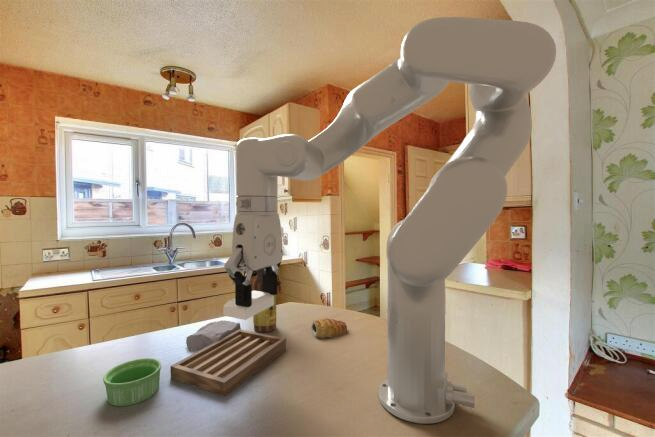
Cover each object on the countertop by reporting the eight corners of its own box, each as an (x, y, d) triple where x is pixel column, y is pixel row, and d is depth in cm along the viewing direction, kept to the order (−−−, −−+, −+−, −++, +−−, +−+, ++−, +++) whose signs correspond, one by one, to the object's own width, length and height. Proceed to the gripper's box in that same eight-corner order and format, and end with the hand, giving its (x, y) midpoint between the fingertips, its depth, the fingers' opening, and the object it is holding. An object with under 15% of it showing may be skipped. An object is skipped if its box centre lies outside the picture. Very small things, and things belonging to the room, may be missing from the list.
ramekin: (126, 379, 62) (125, 357, 62) (171, 379, 62) (170, 357, 61) (91, 409, 53) (89, 383, 53) (143, 409, 53) (142, 384, 52)
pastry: (341, 326, 88) (341, 312, 88) (351, 335, 82) (351, 321, 82) (309, 330, 85) (309, 316, 85) (316, 341, 79) (316, 326, 79)
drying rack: (286, 349, 74) (286, 338, 74) (224, 396, 56) (224, 382, 56) (239, 338, 80) (239, 329, 80) (170, 378, 62) (170, 366, 62)
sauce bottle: (274, 333, 83) (272, 259, 82) (250, 333, 83) (249, 259, 82) (278, 324, 89) (277, 255, 89) (256, 324, 90) (255, 255, 89)
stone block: (183, 357, 74) (219, 353, 72) (179, 337, 75) (215, 332, 72) (212, 338, 86) (244, 334, 84) (208, 321, 86) (241, 316, 84)
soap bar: (273, 304, 63) (273, 292, 63) (245, 319, 55) (245, 305, 55) (253, 301, 65) (253, 289, 65) (223, 315, 57) (223, 301, 57)
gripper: (242, 207, 49) (243, 317, 50) (297, 206, 65) (297, 290, 66) (206, 206, 52) (207, 310, 53) (267, 206, 68) (267, 286, 69)
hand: (257, 298), depth 59 cm, fingers closed on soap bar, 7 cm apart
